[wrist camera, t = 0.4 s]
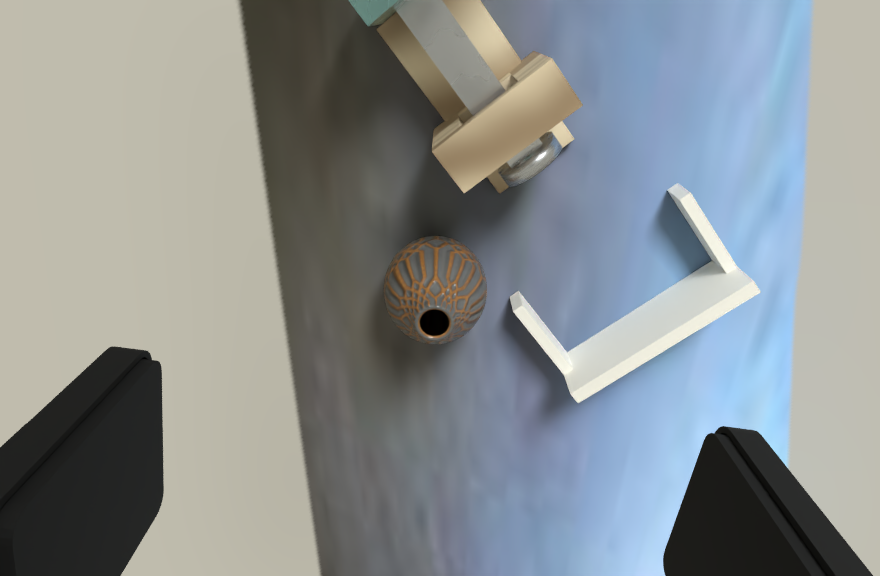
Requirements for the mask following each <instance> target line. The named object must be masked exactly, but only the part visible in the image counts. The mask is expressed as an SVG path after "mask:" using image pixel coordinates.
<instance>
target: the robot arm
mask: <svg viewBox="0 0 880 576" xmlns="http://www.w3.org/2000/svg"><path fill="white" fill-rule="evenodd" d="M161 371H162V370H161V364H160V362H158V361H154V360H152V358H151V355H150V353H149V352H148V351H144V350H136V349H129V348H121V347H110V348H108V349H107V350H106V351H105V352H104V353H102V355H100V356H99V357H98V358H97V359H96V360H95V361H94V362H93V363H92V364H91V365H90V366H89V367H87V368H86V369H85V370H84V371H83V372H82V373H81V374H80V375H79V376H78V377H77V378H76V379H74V381H72V382H71V383H70V384H69V385H68V386H67V387H66V388H65V389H64V390H63V391H62V392H60V393H59V395H57V396H56V397H55V398H54V399H53V400H52V401H51V402H50V403H49V404H47V406H45V407H44V408H43V409H42V410H41V411H40V412H39V413H38V414H37V415H36V416H35V417H34V418H33V419H31V420H30V421H29V422H28V423H27V424H25V425H24V426H23V427H22V428H21V429H20V430H19V431H18V432H17V433H15V434H14V436H12V437H11V438H10V439H9V440H8V441H7V442H6V443H5V444H4V445H2V447H0V576H120V575H121V574H122V572H123V570H124V569H125V567H126V565H127V564H128V562H129V560H130V559H131V557H132V556H133V554H134V552H135V550H136V549H137V547H138V545H139V544H140V542H141V541H142V539H143V537H144V535H145V534H146V532H147V531H148V529H149V527H150V525H151V524H152V522H153V521H154V519H155V517H156V515H157V514H158V512H159V509H160V506H161V503H162V498H163V433H162V432H163V428H162V372H161ZM663 566H664V572H665V575H666V576H873V575H872V574H871V572H870V571H869V570H868V569H867V567H866V566H865V565H864V564H863V562H862V561H861V560H860V559H859V558H858V556H857V555H856V554H855V552H854V551H853V550H852V549H851V547H850V546H849V545H848V544H847V542H846V541H845V540H844V539H843V537H842V536H841V535H840V534H839V532H838V531H837V530H836V529H835V527H834V526H833V525H832V524H831V522H830V521H829V520H828V518H827V517H826V516H825V515H824V514H823V512H822V511H821V510H820V509H819V507H818V506H817V505H816V503H815V502H814V501H813V500H812V498H811V497H810V496H809V495H808V493H807V492H806V491H805V490H804V488H803V487H802V486H801V485H800V483H799V482H798V481H797V480H796V478H795V477H794V476H793V475H792V473H791V472H790V471H789V469H788V468H787V467H786V466H785V464H784V463H783V462H782V461H781V459H780V458H779V457H778V456H777V454H776V453H775V452H774V451H773V449H772V448H771V447H770V446H769V444H768V443H767V442H766V441H765V439H764V438H763V437H762V436H761V434H759V433H758V432H757V431H754V430H747V429H740V428H732V427H724V426H723V427H720V428H718V430H717V431H716V432H715V434H714V433H710V434H708V435H707V436H706V438H705V440H704V442H703V445H702V448H701V451H700V453H699V456H698V459H697V462H696V465H695V467H694V470H693V473H692V476H691V479H690V481H689V484H688V487H687V490H686V493H685V495H684V498H683V501H682V504H681V507H680V510H679V512H678V515H677V518H676V521H675V524H674V526H673V529H672V532H671V535H670V538H669V540H668V543H667V546H666V549H665V552H664V558H663Z"/></svg>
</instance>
